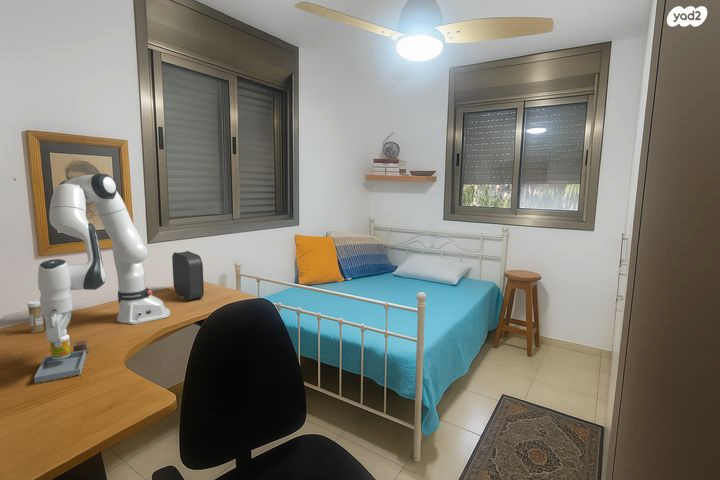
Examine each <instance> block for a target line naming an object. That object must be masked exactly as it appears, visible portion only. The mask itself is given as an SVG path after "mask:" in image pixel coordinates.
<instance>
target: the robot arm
mask: <svg viewBox="0 0 720 480" xmlns="http://www.w3.org/2000/svg"><path fill="white" fill-rule="evenodd" d="M117 186H118V185H117V183H116V180H115V179H114V178H113V177H112V176H110V175H109V174H107V173H94V174H83V175H81V176H77V177H73V178H68V179H65V180H63V181H60V183H59V184H58V185H57V186H55V188H54V190H53V193H52V197H51V200H50V204H49V214H48V215H49V223H50V225H51V226H52V227H53V228H54V229H55V230H56V231H58V232H60V233H62V234H65V235H67V236H71V237H73V238H77V239H81V240H82V241H83V242H84V244H85V250H86V256H87V262H85V263H74V264H69V263H68V261H66V260H64V259H60V258H57V259H56V258H55V259H48V260H45V261H42V262H41V263H39V265H38V270H37V287H38V290H39V292H40V297H39V300H40V306H41V313H42V314H43V315H44V314H45V315H46V317H47V319H46V323H45V338H46V340H47V342H50V341H54V343H55V347H56V348H57V347H61V346H62V341H61V337H62V335H63V333H64V331H65V329H66V330H67V328H68V326H69V323H70V321H71V318H72V310H73V309H74V303H73V302H74V301H73V300H74V299H73V293H72V292H71V291H78V290H85V291H87V290H89V291H90V290H91V291H94V290H97V289H99V288H101V287H102V286H103V285H104V284H105V283H106V280H107V279H106V278H107V274H106V269H105V268H104V264H103V259H102V253H101V247H100V241H99V236H98V232H97V230H96V226H94V224H93V223H91V222H89V220H88V218H87V203H94V207H95V210H96V212H97V215H98V218H99V219H100V221H101V223H102V226H103V228H104V230H105V232H106V234H107V235H108V237H109V239H110V240H111V243H112V245H111V249H112V256H113V260H114V266H115V270H116V275H117V276H116V277H117V287H118V291H117V301H118V314H117V317H116V321H117V322H118V323H122V324H130V325H137V324H142V323H147V322H153V321H157V320H161V319H165V318H166V317H167V318H168V317H170V315H171V310H170V308H168V307H166V306H165V303H164V301H163V300H162V299H160V298H159V297H157V296H154V295H152V294H153V292H152V290H151V288H150V287H146V274H145V273H146V272H145V269H144V267H143V263H142V262H144V261H145V260H146V259H147V257H148V253H149V252H148V248H147V246H146V244H145V243H144V241H143V239H142V237H141V236H140V233H139V232H138V229H137V228H136V226H135V225H134V223H133V220H132V218H131V216H130V213H129V211H128V209H127V206H126V204H125V202H124V199H123V198H122V196H121V194H119V192H118V188H117Z"/></svg>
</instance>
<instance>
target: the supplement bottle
mask: <svg viewBox="0 0 720 480" xmlns="http://www.w3.org/2000/svg"><path fill="white" fill-rule="evenodd" d="M67 331H68V330H67V328H66V329H65V331H64V333H63V335H62V337H61V341H62V346H61V347H57V348H56V347H55V343H54V341H49V342H50V356H51V357H52V359H62V358H66V357H68V356H69V355H70V354H71V341H70V340H71V339H70V335H69V334H68V333H67Z"/></svg>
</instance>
